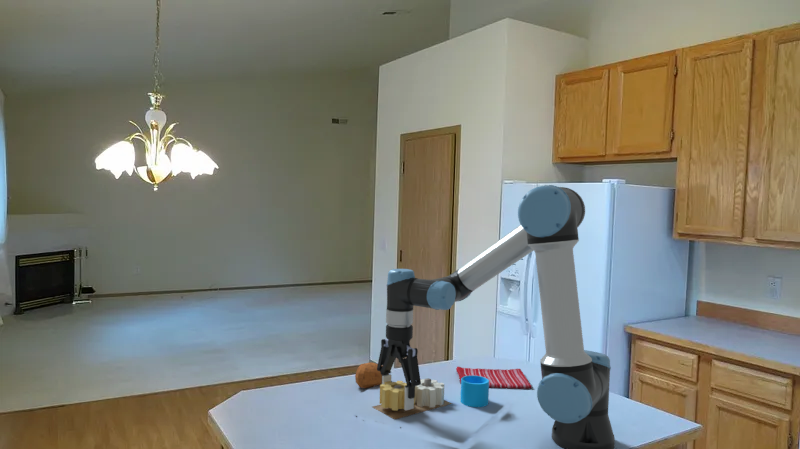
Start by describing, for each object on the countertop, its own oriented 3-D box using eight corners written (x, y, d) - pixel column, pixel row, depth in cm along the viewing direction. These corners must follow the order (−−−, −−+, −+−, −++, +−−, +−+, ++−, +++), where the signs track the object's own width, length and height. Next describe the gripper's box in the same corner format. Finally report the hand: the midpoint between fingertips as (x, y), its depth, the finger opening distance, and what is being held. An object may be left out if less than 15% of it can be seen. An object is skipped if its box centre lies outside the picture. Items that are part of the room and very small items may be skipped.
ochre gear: (412, 411, 149) (413, 393, 149) (377, 409, 151) (377, 391, 150) (416, 399, 159) (416, 381, 159) (382, 396, 160) (383, 379, 160)
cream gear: (449, 399, 163) (450, 383, 163) (434, 410, 155) (435, 392, 155) (420, 393, 168) (420, 377, 168) (404, 403, 160) (404, 386, 160)
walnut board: (452, 408, 160) (453, 381, 160) (394, 424, 148) (395, 395, 147) (427, 397, 169) (428, 371, 169) (371, 411, 156) (372, 384, 156)
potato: (351, 383, 181) (352, 360, 181) (384, 380, 184) (385, 358, 184) (358, 392, 172) (358, 368, 172) (392, 389, 175) (393, 366, 175)
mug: (490, 412, 158) (491, 384, 158) (462, 412, 158) (462, 384, 158) (483, 398, 170) (484, 371, 170) (457, 397, 170) (458, 371, 170)
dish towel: (455, 372, 197) (455, 365, 197) (522, 374, 196) (522, 367, 196) (459, 388, 180) (459, 380, 180) (532, 391, 179) (532, 383, 179)
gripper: (436, 331, 147) (433, 413, 148) (386, 315, 165) (384, 389, 166) (414, 334, 143) (411, 419, 144) (365, 318, 161) (363, 393, 162)
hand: (397, 403), depth 155 cm, fingers closed on ochre gear, 10 cm apart
